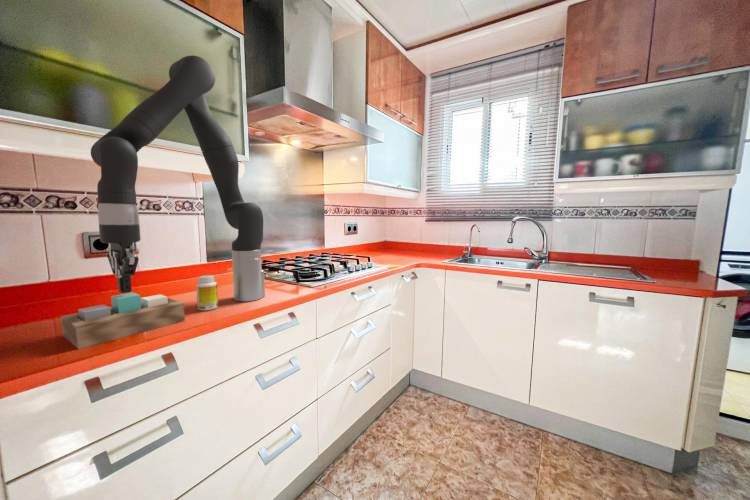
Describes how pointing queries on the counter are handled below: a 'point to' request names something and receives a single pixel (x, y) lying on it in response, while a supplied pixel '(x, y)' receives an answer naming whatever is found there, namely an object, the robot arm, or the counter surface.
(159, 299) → the ivory key
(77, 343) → the frame
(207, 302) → the supplement bottle
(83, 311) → the grey key
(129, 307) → the teal key
